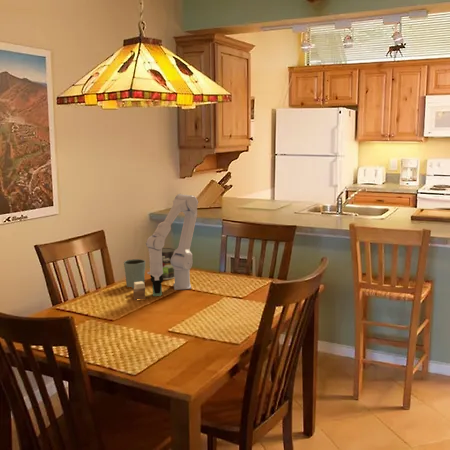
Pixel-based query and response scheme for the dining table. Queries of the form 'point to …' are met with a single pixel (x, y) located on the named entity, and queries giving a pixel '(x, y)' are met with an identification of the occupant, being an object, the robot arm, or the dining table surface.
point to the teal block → (157, 293)
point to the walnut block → (139, 293)
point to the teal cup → (134, 271)
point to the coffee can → (167, 263)
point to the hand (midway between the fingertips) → (157, 291)
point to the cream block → (139, 285)
